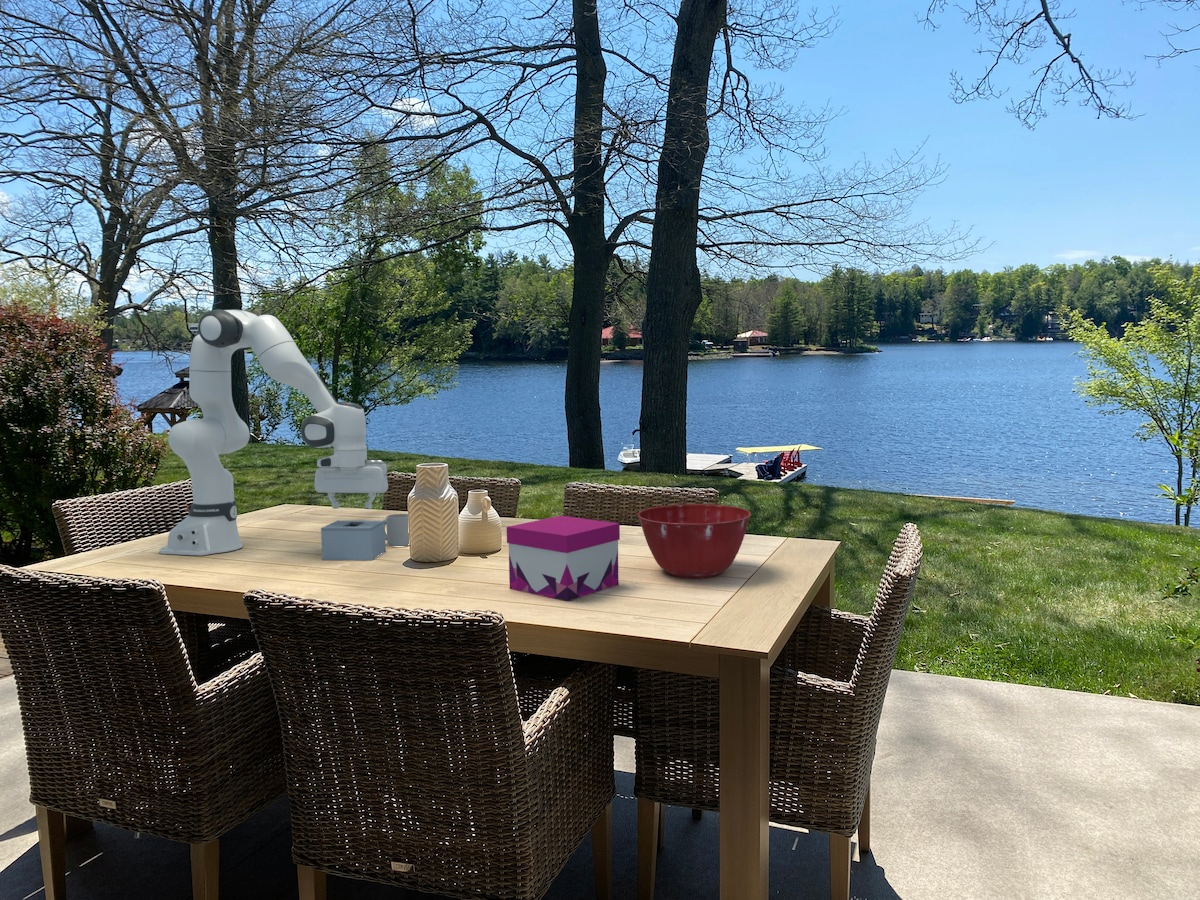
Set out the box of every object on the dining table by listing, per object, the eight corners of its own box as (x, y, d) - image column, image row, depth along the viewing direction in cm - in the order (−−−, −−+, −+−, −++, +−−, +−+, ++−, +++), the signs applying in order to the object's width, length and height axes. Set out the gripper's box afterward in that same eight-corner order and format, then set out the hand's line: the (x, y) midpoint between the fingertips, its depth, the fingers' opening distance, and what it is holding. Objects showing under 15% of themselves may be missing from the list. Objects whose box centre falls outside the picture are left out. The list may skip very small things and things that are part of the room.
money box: (322, 560, 232) (321, 528, 231) (338, 551, 244) (337, 520, 243) (371, 560, 231) (370, 528, 230) (385, 551, 243) (384, 520, 242)
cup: (404, 548, 247) (403, 518, 247) (374, 546, 250) (373, 517, 249) (416, 543, 254) (415, 514, 254) (386, 541, 257) (385, 513, 256)
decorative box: (561, 573, 213) (560, 515, 212) (620, 585, 201) (619, 523, 200) (507, 589, 199) (506, 526, 197) (567, 602, 187) (566, 535, 185)
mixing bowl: (660, 590, 196) (659, 525, 194) (624, 564, 223) (623, 506, 222) (770, 581, 203) (770, 518, 202) (722, 556, 231) (722, 501, 229)
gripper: (390, 458, 238) (391, 507, 239) (320, 458, 239) (321, 506, 240) (383, 461, 231) (384, 510, 233) (311, 460, 233) (312, 510, 234)
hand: (352, 508), depth 237 cm, fingers open, 8 cm apart
